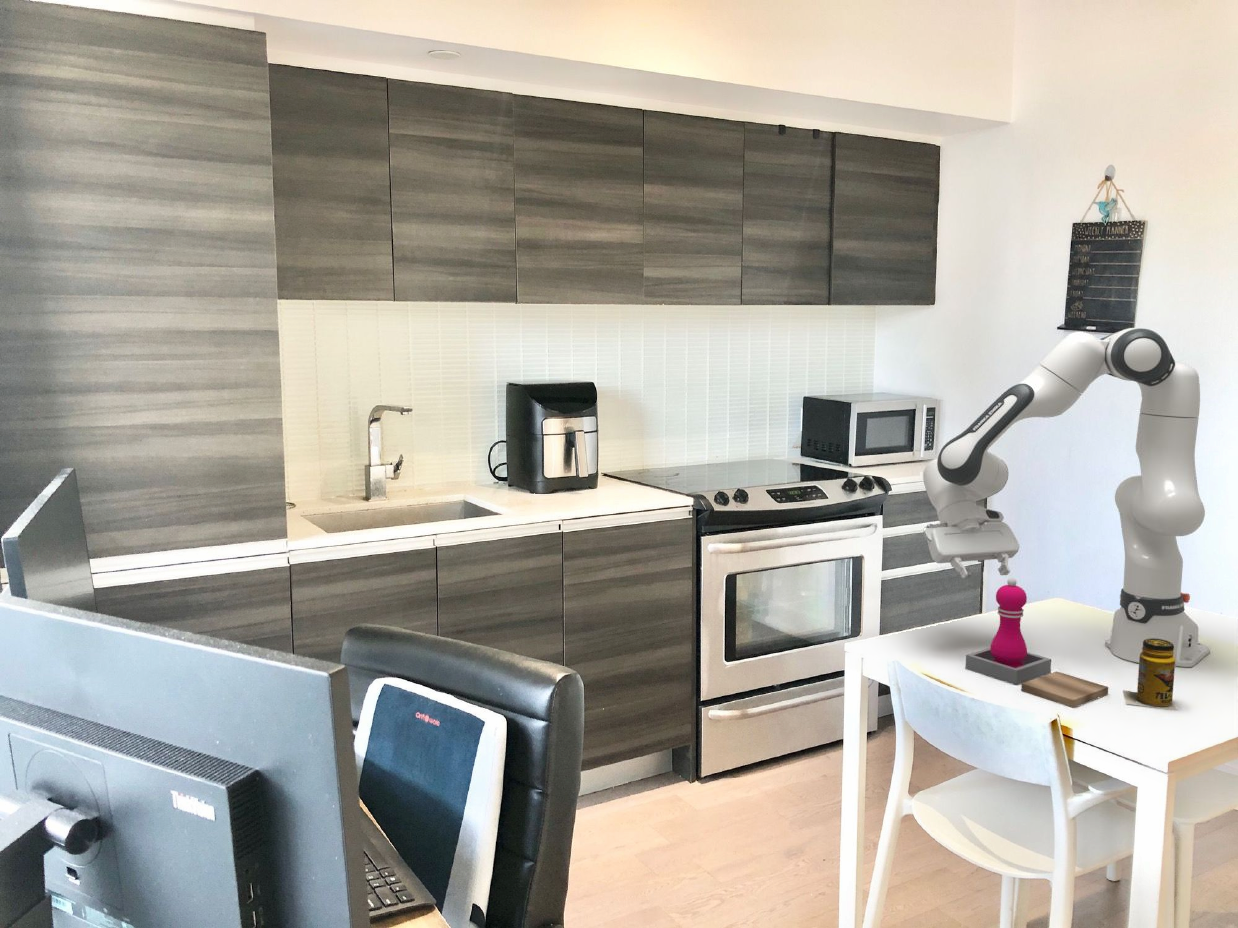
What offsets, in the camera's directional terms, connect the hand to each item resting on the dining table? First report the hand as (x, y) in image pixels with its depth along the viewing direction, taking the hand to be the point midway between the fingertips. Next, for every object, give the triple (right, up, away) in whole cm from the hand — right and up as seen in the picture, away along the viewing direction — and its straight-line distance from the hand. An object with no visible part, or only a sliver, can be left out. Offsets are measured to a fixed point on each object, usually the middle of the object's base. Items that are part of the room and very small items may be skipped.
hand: (986, 575), depth 215 cm
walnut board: (+9, -21, -18) cm, 29 cm away
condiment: (+23, -22, -23) cm, 39 cm away
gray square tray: (+2, -19, -6) cm, 20 cm away
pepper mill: (+2, -20, -6) cm, 21 cm away
